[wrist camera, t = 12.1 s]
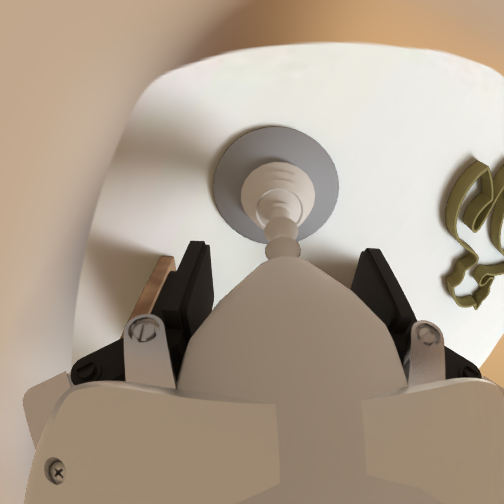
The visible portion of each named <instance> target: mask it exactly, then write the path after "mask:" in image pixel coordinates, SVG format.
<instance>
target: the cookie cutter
mask: <svg viewBox="0 0 504 504" xmlns="http://www.w3.org/2000/svg"><path fill="white" fill-rule="evenodd" d="M480 176H481V184H482V192H481V193H480V194H478V195H477V196H476V197H475V198H474V199H473V200H472V201H471V203H470V204H469V205H468V207H467V208H466V210H465V212H464V216H463V222H464V224H465V225H467V226H468V227H469V228H470V229H471V230H472V231H473V232H474V233H476V232H477V231H478V230H479V229H480V228H481V226H482V225H483V223H484V222H485V220H486V218H487V216H488V215H489V213H490V211H491V209H492V208H493V206H494V204H495V206H494V210H493V214H492V219H491V238H492V242H493V244H494V246H495V247H496V248H497V249H498V250H499V252H500V253H501V254H502V255H503V256H504V250H502V248H501V242H500V236H501V228H502V223H503V219H504V165H503V166H502V167H501V169H500V170H499V171H498V173H497V174H496V176H495V177H494V179H493V180H492V176H491V172H490V169H489V166H487V165H485V164H484V163H482V162H480V161H478V160H477V161H476V162H474V163H473V164H472V165H471V166H470V167H468V168H467V169H466V170H465V172H464V173H463V174H462V175H461V176H460V178H459V179H458V181H457V182H456V184H455V185H454V187H453V189H452V191H451V193H450V196H449V199H448V202H447V206H446V212H445V220H446V225H447V228H448V230H449V232H450V233H451V234H452V236H453V237H454V238H455V239H456V240H457V241H458V242H459V243H460V244H461V245H462V246H463V247H464V248H465V249H467V250H468V251H469V253H468V254H467V255H466V256H465V257H463V258H461V259H459V260H458V261H457V263H456V267H455V270H454V272H453V273H452V274H451V275H449V276H448V277H446V284H447V288H448V291H449V293H450V294H451V296H452V297H453V299H454V301H455V302H456V304H457V305H458V306H460V307H471V306H473V307H474V309H475V310H477V309H478V308H479V306H480V304H481V303H482V301H483V300H484V299H485V298H486V297H487V296H488V294H489V292H490V286H491V284H492V282H493V280H494V278H495V277H494V276H496V275H501V274H504V262H503V263H500V264H497V265H491V266H486V265H479V266H477V267H476V268H475V270H474V272H473V278H474V279H475V280H476V282H477V283H478V284H479V286H481V288H480V289H479V290H478V291H476V293H475V295H474V297H472V296H471V295H469V296H465V297H458V296H455V292H454V288H455V287H456V286H458V285H459V284H460V283H461V282H462V280H463V279H464V275H465V272H466V270H468V269H470V268H472V267H473V266H474V265H476V263H477V262H478V260H479V257H478V255H477V254H476V253H475V251H474V250H473V249H472V248H471V247H470V246H469V245H468V244H467V243H466V242H464V241H463V240H461V239H460V238H459V237H458V234H457V227H456V224H457V216H458V212H459V209H460V206H461V204H462V202H463V199H464V197H465V196H466V194H467V192H468V191H469V189H470V188H471V186H472V185H473V184H474V182H475V181H476V180H477V179H478V178H479V177H480ZM495 202H496V203H495Z"/></svg>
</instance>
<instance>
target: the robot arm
mask: <svg viewBox="0 0 504 504" xmlns="http://www.w3.org/2000/svg"><path fill="white" fill-rule="evenodd" d="M351 290H352V291H353V292H354V293H355V294H356V295H357V296H358V297H359V298H360V299H361V300H362V301H363V302H364V303H365V304H366V305H367V306H368V307H369V308H370V309H371V311H372V312H373V313H374V314H375V315H376V316H377V317H378V318H379V319H380V320H381V321H382V322H383V323H384V324H385V325H386V327H387V329H388V331H389V333H390V335H391V337H392V339H393V341H394V344H395V346H396V349H397V352H398V355H399V358H400V361H401V364H402V367H403V370H404V373H405V377H406V380H407V383H408V386H409V387H403V388H396V389H393V390H392V391H390V392H388V393H385V394H381V395H378V396H374V397H370V398H367V399H363V400H361V407H362V416H363V427H364V439H365V455H366V469H367V474H368V475H371V476H375V477H378V478H381V479H384V480H388V481H391V482H395V483H399V484H404V485H409V486H414V487H418V488H420V489H421V490H423V491H425V492H426V493H428V494H429V495H431V496H432V497H434V498H436V499H437V500H439V501H441V502H442V503H444V504H504V388H502V387H500V386H499V385H497V384H496V383H494V382H493V381H491V380H489V379H488V378H486V377H485V376H484V377H483V378H482V376H481V373H480V371H479V369H478V368H477V366H476V365H474V364H473V363H472V362H470V361H468V360H467V359H465V358H464V357H462V356H460V355H459V354H457V353H455V352H454V351H452V350H451V349H449V348H447V347H446V346H444V338H443V334H442V332H441V330H440V329H439V328H438V327H437V326H436V325H435V324H433V323H432V322H429V321H425V320H421V321H417V319H416V317H415V315H414V313H413V311H412V309H411V306H410V304H409V302H408V300H407V298H406V296H405V294H404V292H403V291H402V289H401V287H400V285H399V283H398V281H397V279H396V277H395V275H394V274H393V272H392V270H391V268H390V266H389V264H388V263H387V261H386V259H385V257H384V256H383V254H382V252H381V250H380V249H374V248H367V249H366V250H365V251H362V252H361V255H360V258H359V262H358V266H357V269H356V273H355V276H354V280H353V283H352V287H351ZM213 302H214V290H213V279H212V268H211V256H210V246H209V245H205V242H204V241H190V243H189V245H188V247H187V250H186V252H185V254H184V256H183V259H182V261H181V263H180V265H179V268H178V270H177V271H170V272H169V273H168V275H167V278H166V280H165V282H164V284H163V286H162V289H161V291H160V293H159V295H158V297H157V300H156V302H155V304H154V307H153V309H152V311H151V313H150V314H142V315H139V316H136V317H134V318H132V319H131V320H130V321H129V322H128V323H127V324H126V326H125V328H124V337H123V338H121V339H119V340H117V341H115V342H113V343H111V344H109V345H107V346H105V347H103V348H101V349H99V350H97V351H95V352H93V353H91V354H89V355H87V356H85V357H83V358H81V359H80V360H78V361H77V362H76V363H75V364H74V365H73V367H72V370H71V373H69V374H67V373H66V372H64V373H61V374H59V375H57V376H55V377H53V378H51V379H49V380H47V381H45V382H42V383H40V384H38V385H36V386H34V387H32V388H30V389H29V390H28V391H27V392H26V393H25V395H24V398H23V407H24V411H25V415H26V419H27V423H28V426H29V430H30V433H31V437H32V440H33V443H34V446H35V449H36V452H35V456H34V459H33V463H32V467H31V470H30V474H29V479H28V483H27V488H26V494H25V500H24V504H235V503H238V502H240V501H243V500H245V499H247V498H250V497H252V496H254V495H256V494H259V493H261V492H263V491H265V490H267V489H269V488H271V487H273V486H275V485H277V484H279V483H280V460H279V444H278V430H277V416H276V405H275V404H271V403H264V402H257V401H250V400H244V399H238V398H233V397H229V396H226V395H222V394H217V393H207V392H198V391H190V390H182V389H177V380H178V376H179V372H180V368H181V364H182V360H183V357H184V354H185V351H186V349H187V346H188V343H189V341H190V339H191V337H192V336H193V335H194V333H195V332H196V331H197V330H198V328H199V327H200V326H201V325H202V323H203V322H204V321H205V319H206V318H207V317H208V316H209V314H210V313H211V311H212V306H213Z"/></svg>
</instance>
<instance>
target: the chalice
mask: <svg viewBox="0 0 504 504" xmlns="http://www.w3.org/2000/svg"><path fill="white" fill-rule="evenodd" d="M314 200H315V191H314V187H313V183H312V182H311V180H310V178H309V177H308V175H307V174H306V173H305V172H304V171H302V170H301V169H300V168H299V167H297V166H294V165H292V164H289V163H284V162H272V163H268V164H264V165H262V166H260V167H258V168H257V169H255V170H254V171H252V172H251V173H250V175H249V176H248V177H247V178H246V180H245V182H244V184H243V187H242V190H241V202H242V205H243V208H244V211H245V212H246V214H247V215H248V216H249V218H250V219H251V220H252V221H253V222H254V223H256V224H257V226H259V227H260V228H262V229H263V230H264V235H265V238H266V239H267V240H268V242H269V243H268V244H267V246H266V248H265V254H266V257H267V258H268V261H266V262H264V263H262V264H260V265H259V266H258V267H257V268H256V269H255V270H254V271H253V272H251V273H250V274H249V275H248V276H247V277H246V278H245V279H244V280H243V281H241V282H240V283H239V284H238V285H237V286H236V287H235V288H234V289H233V290H231V291H230V292H229V293H228V294H227V295H226V296H225V297H224V298H223V299H222V300H220V301H219V303H218V304H217V305H216V307H215V308H214V309H213V310H212V312H211V313H210V314H209V316H208V317H207V318H206V319H205V321H204V322H203V323H202V325H201V326H200V327H199V328H198V330H197V331H196V332H195V333H194V335H193V336H192V337H191V339H190V341H189V343H188V346H187V349H186V351H185V354H184V357H183V360H182V364H181V368H180V372H179V376H178V380H177V389H182V390H190V391H198V392H207V393H217V394H222V395H226V396H229V397H233V398H238V399H244V400H250V401H257V402H264V403H271V404H275V405H276V416H277V430H278V444H279V460H280V483H279V484H277V485H275V486H273V487H271V488H269V489H267V490H265V491H263V492H261V493H259V494H256V495H254V496H252V497H250V498H247V499H245V500H243V501H240V502H238V503H235V504H444V503H442V502H441V501H439V500H437V499H436V498H434V497H432V496H431V495H429V494H428V493H426V492H425V491H423V490H421V489H420V488H418V487H414V486H409V485H404V484H399V483H395V482H391V481H388V480H384V479H381V478H378V477H375V476H371V475H368V474H367V469H366V455H365V439H364V427H363V416H362V407H361V400H363V399H367V398H370V397H374V396H378V395H381V394H385V393H388V392H390V391H392V390H393V389H396V388H403V387H409V386H408V383H407V380H406V377H405V373H404V370H403V367H402V364H401V361H400V358H399V355H398V352H397V349H396V346H395V344H394V341H393V339H392V337H391V335H390V333H389V331H388V329H387V327H386V325H385V324H384V323H383V322H382V321H381V320H380V319H379V318H378V317H377V316H376V315H375V314H374V313H373V312H372V311H371V309H370V308H369V307H368V306H367V305H366V304H365V303H364V302H363V301H362V300H361V299H360V298H359V297H358V296H357V295H356V294H355V293H354V292H353V291H352V290H350V289H349V288H347V287H346V286H344V285H343V284H341V283H340V282H338V281H337V280H335V279H334V278H332V277H331V276H329V275H328V274H326V273H325V272H323V271H322V270H320V269H319V268H317V267H316V266H314V265H313V264H311V263H310V262H308V261H307V260H304V259H301V258H298V257H299V255H300V251H301V249H300V245H299V244H298V243H297V241H295V239H296V238H297V236H298V231H299V230H298V227H299V226H300V225H301V224H302V223H303V222H304V220H305V219H306V218H307V216H308V215H309V214H310V212H311V210H312V208H313V206H314Z"/></svg>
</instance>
